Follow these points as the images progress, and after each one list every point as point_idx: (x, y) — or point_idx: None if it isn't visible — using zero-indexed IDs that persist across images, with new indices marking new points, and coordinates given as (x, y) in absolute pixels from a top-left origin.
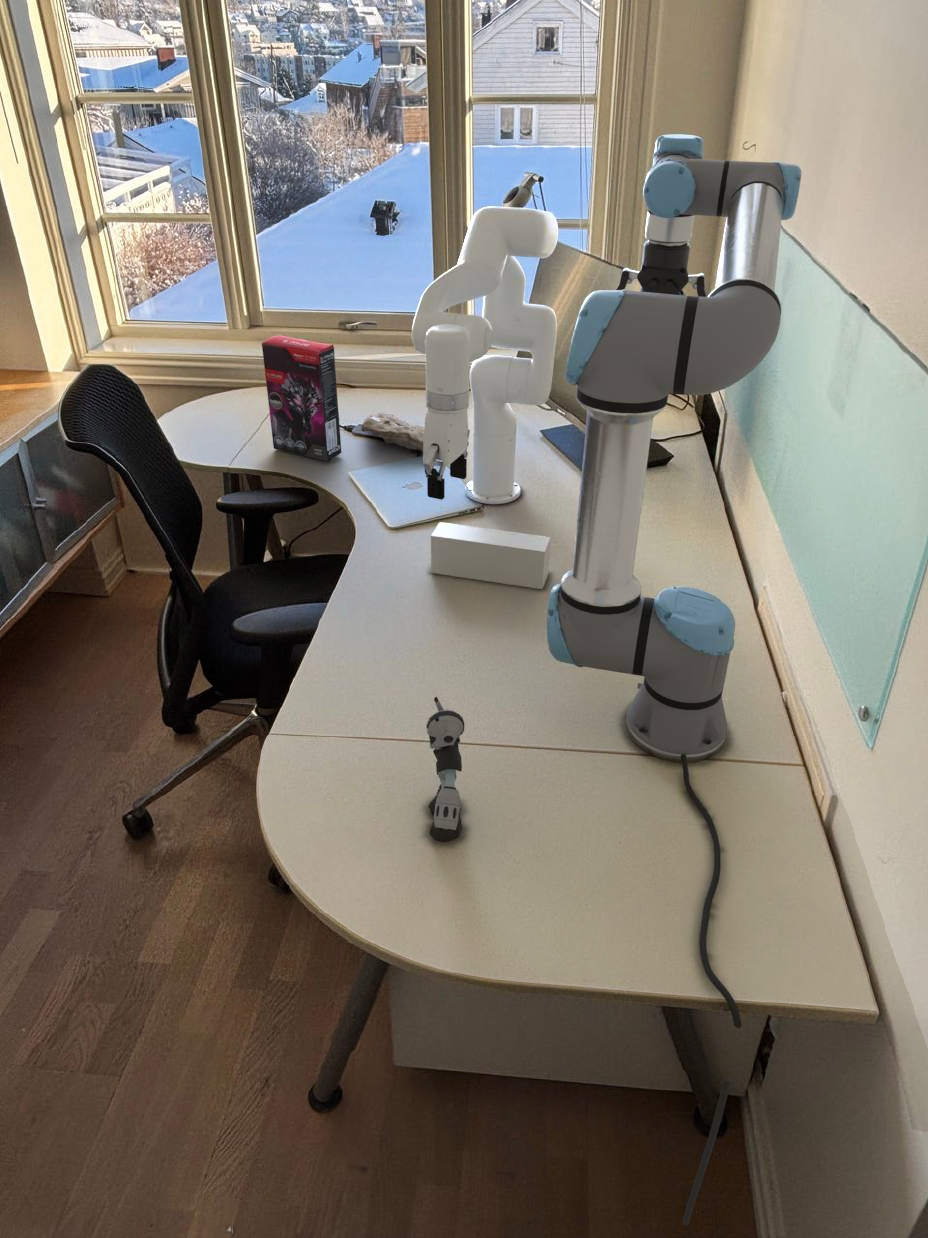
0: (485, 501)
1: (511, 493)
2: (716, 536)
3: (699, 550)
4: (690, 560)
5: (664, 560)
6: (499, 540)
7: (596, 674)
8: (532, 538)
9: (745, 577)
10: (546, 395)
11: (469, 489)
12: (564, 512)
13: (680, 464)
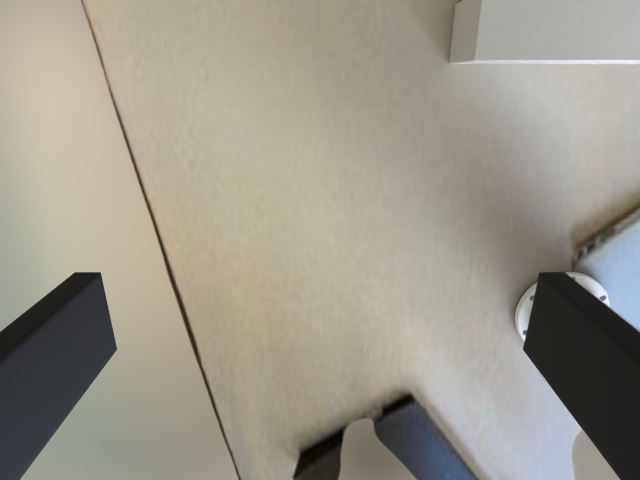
0: (573, 273)
1: (531, 305)
2: (196, 266)
3: (214, 215)
4: (223, 179)
5: (263, 168)
6: (580, 12)
7: None
8: (511, 42)
9: (131, 149)
10: (588, 444)
11: (603, 301)
12: (438, 278)
13: (279, 458)
